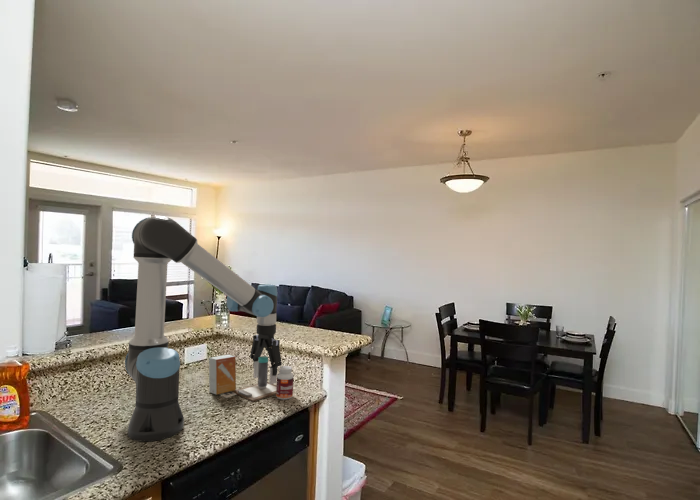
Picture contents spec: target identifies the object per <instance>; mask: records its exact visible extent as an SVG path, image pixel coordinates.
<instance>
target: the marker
mask: <svg viewBox="0 0 700 500" xmlns="http://www.w3.org/2000/svg"><path fill="white" fill-rule="evenodd" d="M258 362H259V364H258V377H257V384H258V386H259V387H258V388H259V389H266V386H267V382H268V370H269V356H266V355H265V356H264V355H261V356H260V357H259V360H258Z"/></svg>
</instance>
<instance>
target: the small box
mask: <svg viewBox="0 0 700 500" xmlns="http://www.w3.org/2000/svg"><path fill="white" fill-rule="evenodd" d="M236 359H237V357H236V356H235V355H232V354H224V355H223V354H222V355H218V356H212V357H209V358H208V367H209V368H208V369H209V370H208V373H209V374H208V378H209V379H208V382H209V383H208V384H209V389H208V390H209V393H211V394H213V395H219V394H221V393H226V392H230V391H235V390H237V386H236V385H237V377H236V375H237V371H236V370H237V369H236V366H237V365H236V364H237V363H236V361H237V360H236Z"/></svg>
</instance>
